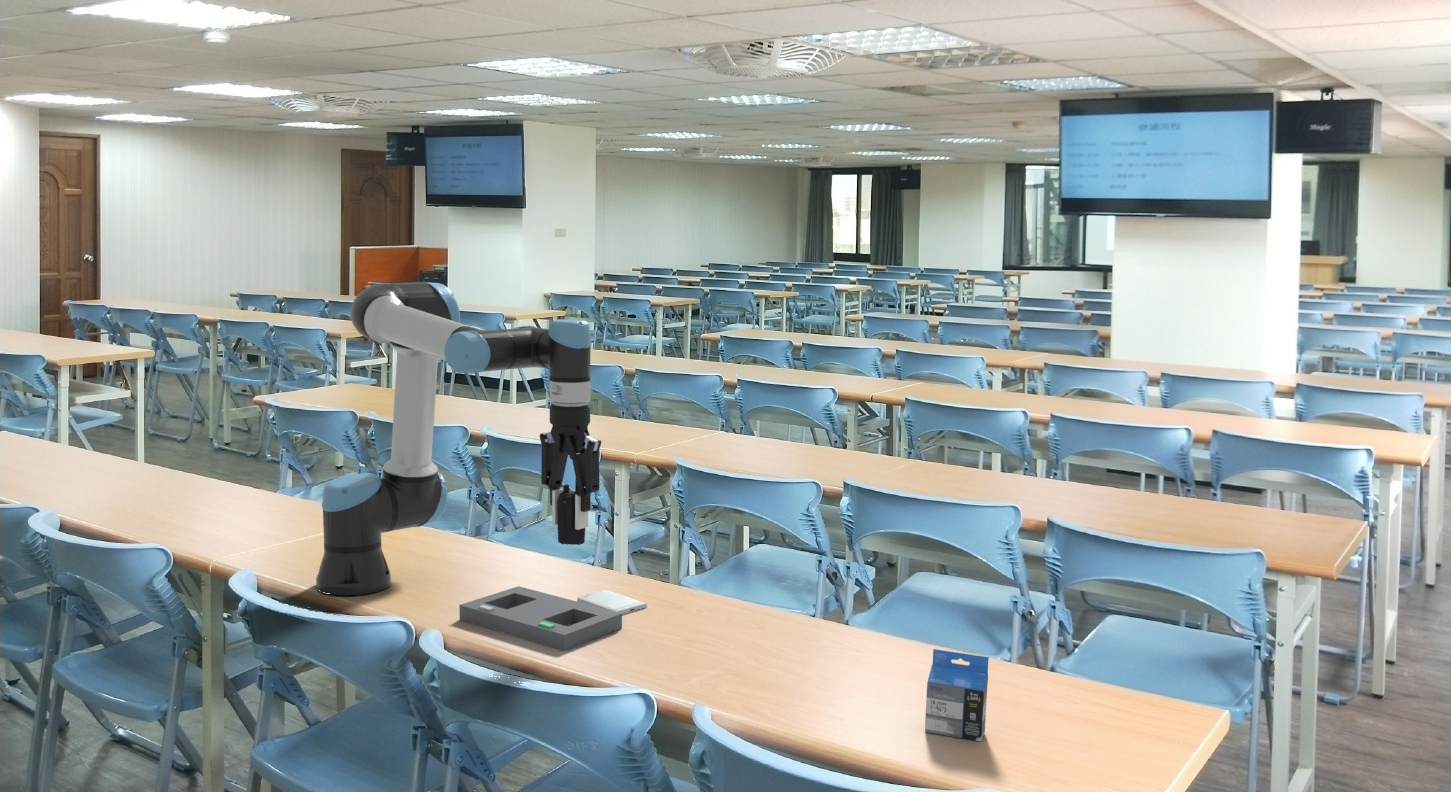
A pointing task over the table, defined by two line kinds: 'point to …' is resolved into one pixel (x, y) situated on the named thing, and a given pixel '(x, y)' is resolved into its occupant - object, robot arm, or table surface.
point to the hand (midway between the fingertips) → (570, 525)
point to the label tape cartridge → (957, 695)
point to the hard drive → (612, 601)
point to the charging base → (541, 617)
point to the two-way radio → (568, 518)
